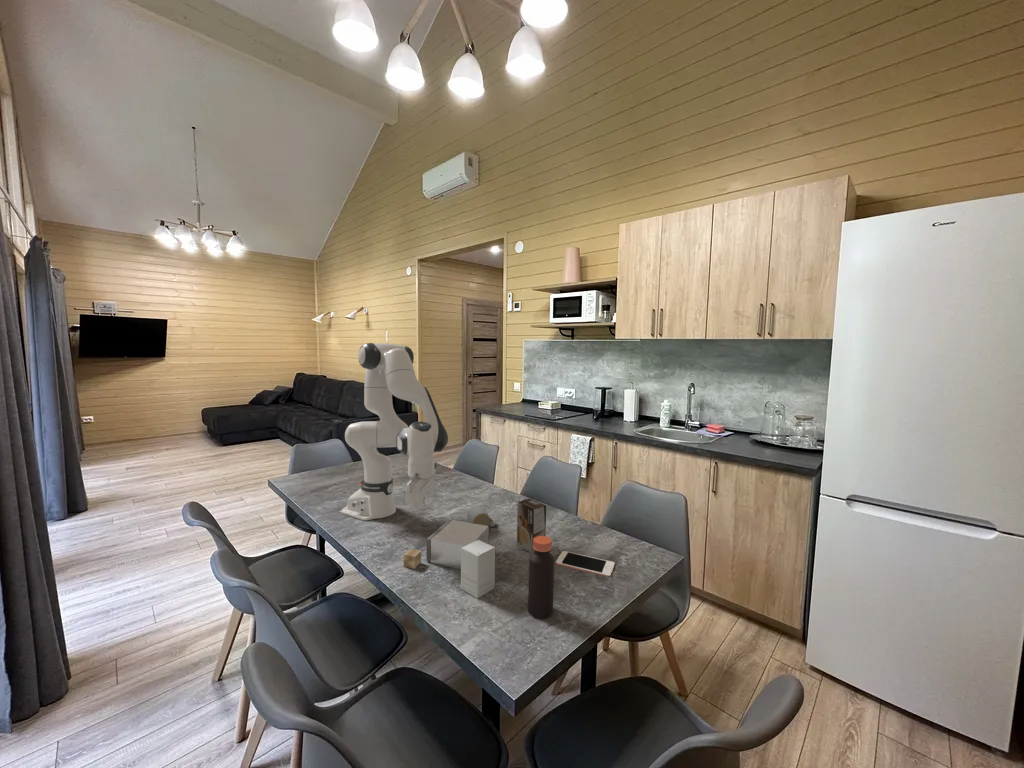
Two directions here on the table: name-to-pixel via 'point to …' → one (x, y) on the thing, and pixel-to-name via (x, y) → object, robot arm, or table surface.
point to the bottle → (541, 578)
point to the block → (412, 558)
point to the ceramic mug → (479, 516)
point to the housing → (455, 542)
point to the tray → (431, 538)
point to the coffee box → (530, 522)
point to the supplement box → (477, 568)
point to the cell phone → (585, 563)
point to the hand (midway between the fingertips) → (420, 507)
